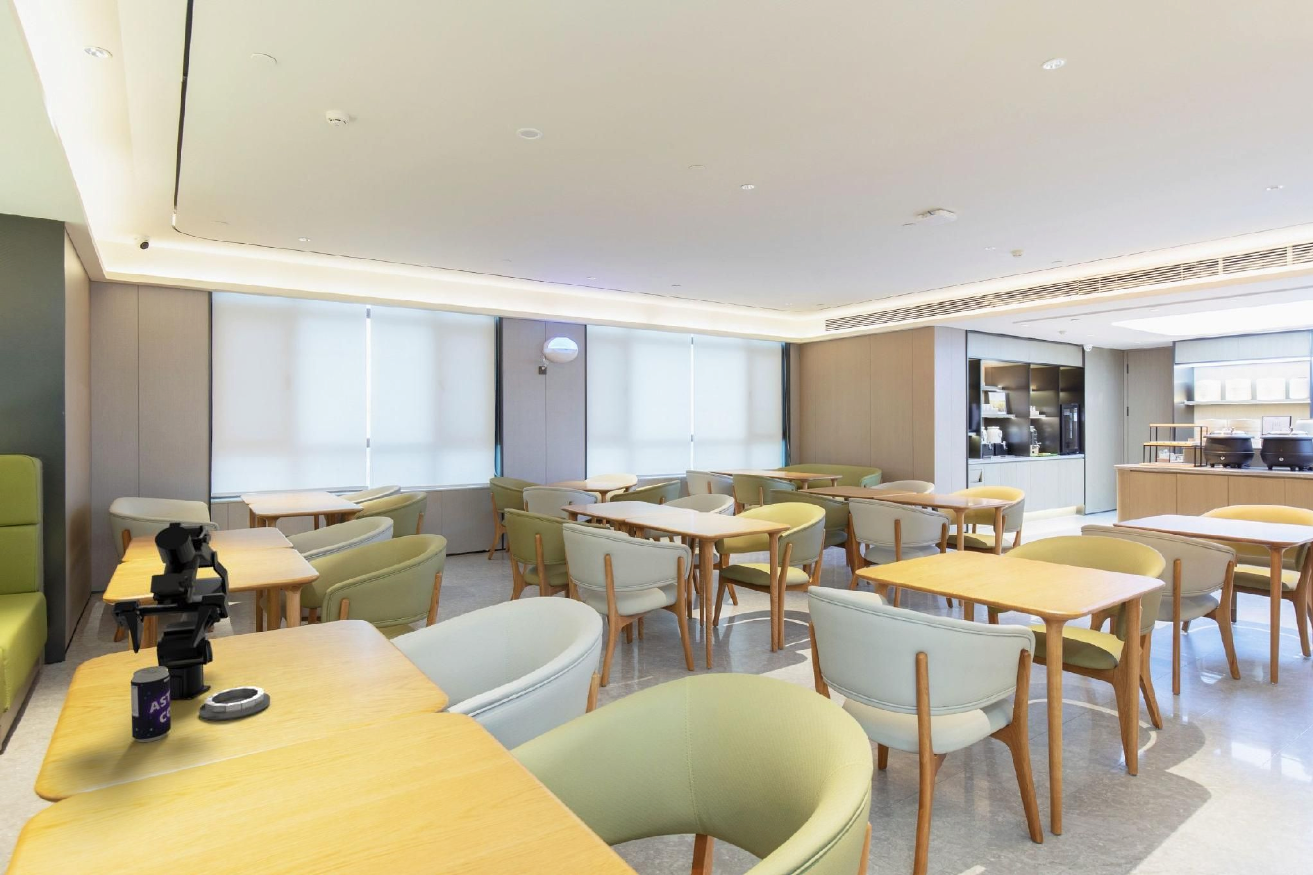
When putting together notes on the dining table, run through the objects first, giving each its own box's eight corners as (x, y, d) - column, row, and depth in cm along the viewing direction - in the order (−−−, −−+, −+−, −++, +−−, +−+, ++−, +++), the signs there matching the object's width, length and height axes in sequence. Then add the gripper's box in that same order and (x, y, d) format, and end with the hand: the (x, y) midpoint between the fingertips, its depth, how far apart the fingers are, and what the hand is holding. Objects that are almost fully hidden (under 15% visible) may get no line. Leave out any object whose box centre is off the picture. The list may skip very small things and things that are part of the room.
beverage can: (151, 745, 127) (149, 677, 126) (124, 742, 128) (122, 675, 128) (178, 731, 132) (177, 666, 132) (152, 729, 133) (150, 664, 133)
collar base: (225, 696, 149) (225, 684, 149) (282, 696, 148) (282, 684, 148) (184, 720, 137) (184, 707, 137) (246, 721, 136) (246, 708, 136)
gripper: (112, 559, 138) (91, 633, 128) (225, 552, 144) (213, 623, 134) (128, 590, 146) (109, 663, 136) (234, 582, 152) (223, 651, 142)
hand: (164, 649), depth 137 cm, fingers open, 9 cm apart
